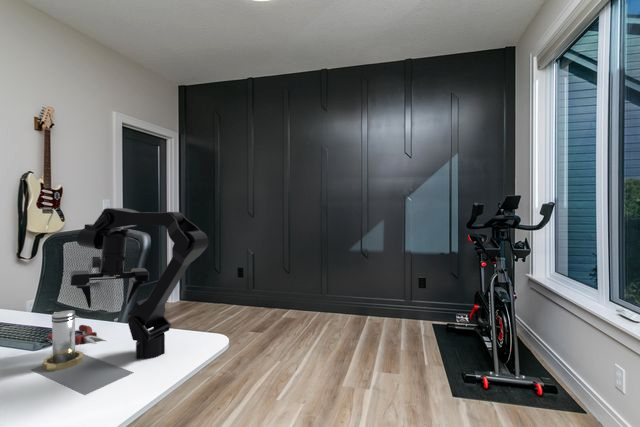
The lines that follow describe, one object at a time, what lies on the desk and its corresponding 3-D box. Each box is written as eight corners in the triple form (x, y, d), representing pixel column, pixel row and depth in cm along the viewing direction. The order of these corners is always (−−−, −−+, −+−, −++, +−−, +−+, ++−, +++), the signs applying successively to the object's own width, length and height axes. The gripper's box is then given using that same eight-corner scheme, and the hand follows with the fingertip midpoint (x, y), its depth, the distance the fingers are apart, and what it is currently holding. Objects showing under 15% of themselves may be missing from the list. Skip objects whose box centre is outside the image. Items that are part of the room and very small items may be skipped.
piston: (79, 358, 87) (79, 309, 87) (69, 366, 82) (68, 315, 82) (59, 359, 86) (59, 310, 86) (47, 368, 81) (47, 316, 81)
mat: (30, 373, 81) (30, 369, 81) (79, 356, 91) (79, 352, 91) (85, 399, 70) (85, 394, 70) (134, 376, 80) (134, 372, 80)
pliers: (81, 355, 92) (82, 346, 92) (43, 342, 101) (43, 334, 101) (121, 340, 103) (121, 332, 103) (83, 330, 111) (83, 323, 111)
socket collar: (83, 357, 90) (83, 348, 90) (81, 369, 83) (81, 359, 83) (45, 364, 85) (45, 355, 85) (40, 378, 79) (40, 367, 79)
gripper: (143, 246, 105) (139, 294, 105) (71, 247, 93) (66, 301, 93) (152, 253, 96) (147, 305, 97) (73, 254, 84) (68, 313, 85)
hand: (108, 305), depth 93 cm, fingers open, 9 cm apart
